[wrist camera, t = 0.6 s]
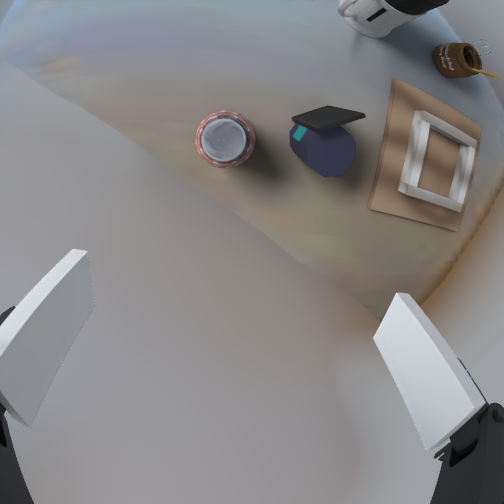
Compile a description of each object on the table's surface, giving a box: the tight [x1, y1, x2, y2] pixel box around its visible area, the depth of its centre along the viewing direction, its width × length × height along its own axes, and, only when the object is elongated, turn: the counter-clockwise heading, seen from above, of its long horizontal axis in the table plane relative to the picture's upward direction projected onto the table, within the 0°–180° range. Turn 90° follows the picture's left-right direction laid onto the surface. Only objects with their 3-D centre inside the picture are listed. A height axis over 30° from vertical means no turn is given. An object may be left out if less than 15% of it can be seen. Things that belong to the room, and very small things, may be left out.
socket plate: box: [367, 78, 482, 231], centre depth 32 cm, size 20×20×4 cm
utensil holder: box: [433, 43, 500, 79], centre depth 21 cm, size 6×6×12 cm
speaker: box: [290, 106, 365, 177], centre depth 28 cm, size 8×6×10 cm
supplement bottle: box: [195, 111, 255, 168], centre depth 27 cm, size 6×6×11 cm
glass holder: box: [338, 0, 449, 38], centre depth 18 cm, size 9×14×15 cm, turn 126°
